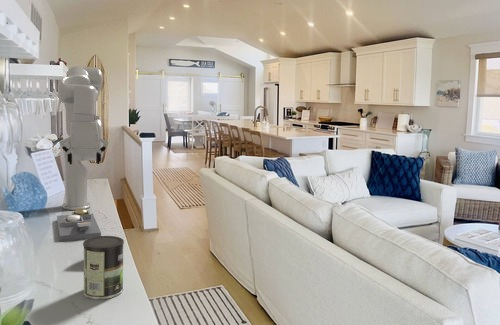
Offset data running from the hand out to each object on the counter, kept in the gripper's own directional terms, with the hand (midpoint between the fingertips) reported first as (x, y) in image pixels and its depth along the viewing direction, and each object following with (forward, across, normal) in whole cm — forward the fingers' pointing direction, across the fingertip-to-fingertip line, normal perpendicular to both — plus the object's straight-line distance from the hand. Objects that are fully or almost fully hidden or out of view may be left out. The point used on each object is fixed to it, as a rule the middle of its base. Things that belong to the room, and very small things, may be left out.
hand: (84, 163), depth 161 cm
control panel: (+27, +2, -4) cm, 27 cm away
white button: (+23, +4, -4) cm, 24 cm away
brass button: (+23, 0, -13) cm, 27 cm away
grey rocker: (+23, 0, +5) cm, 23 cm away
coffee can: (+27, 0, +56) cm, 62 cm away
